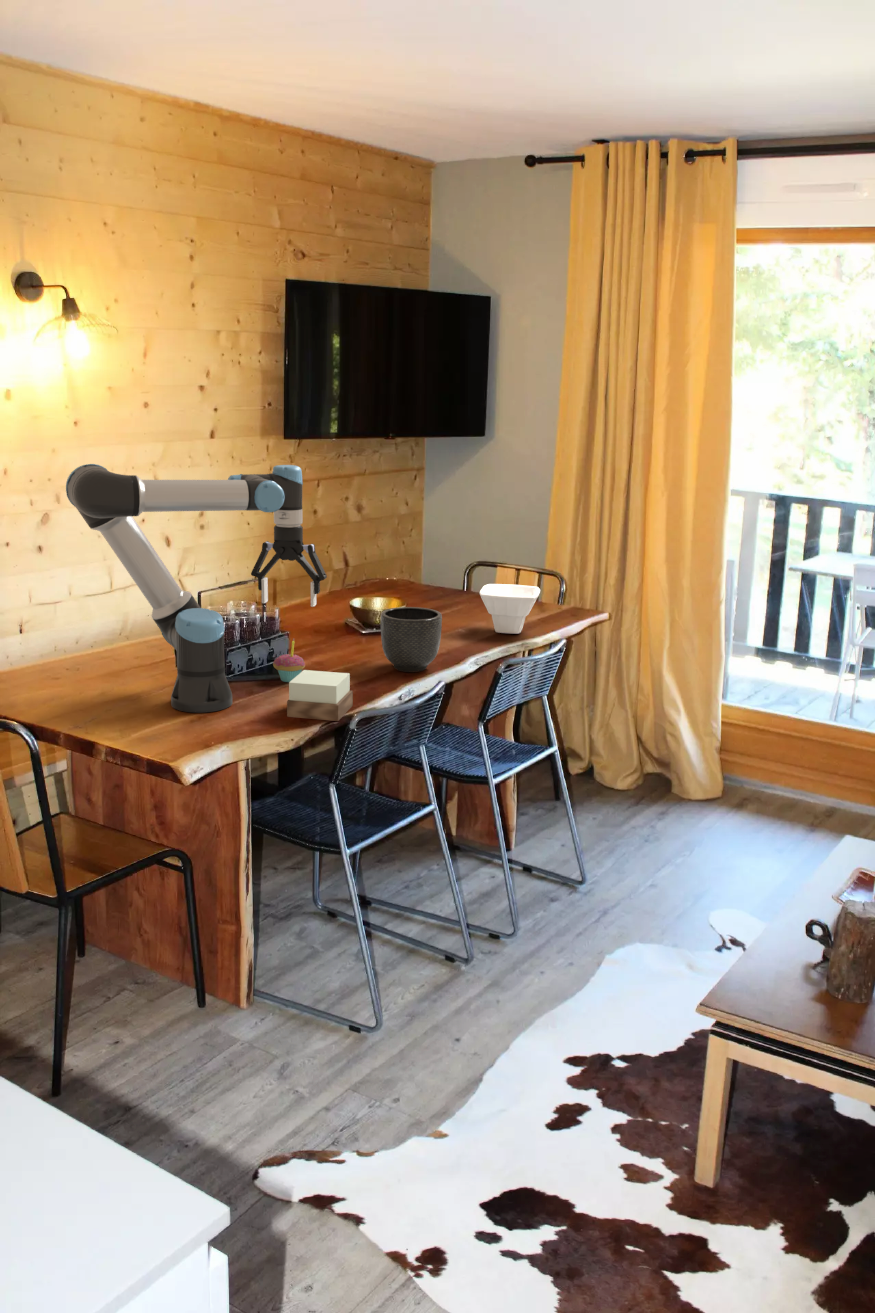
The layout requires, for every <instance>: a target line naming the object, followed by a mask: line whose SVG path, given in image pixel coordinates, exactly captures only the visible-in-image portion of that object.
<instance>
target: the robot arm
mask: <svg viewBox="0 0 875 1313" xmlns="http://www.w3.org/2000/svg"><path fill="white" fill-rule="evenodd" d="M302 471H303V470H302V468H301V467H300V466H298V465H295V464H294V465H293V464H279V465H274V466H273V468H272V473H271V472H270V473H265V474H264V473H263V474H261V473H259V474H258V473H257V474H255V473H253V474H250V473H249V474H248V473H247V474H244V473H243V474H242V473H240V474H233V475H229V476H228V478H227V479H141V477H139V476H138V475H134V474H133V475H132V474H131V475H128V474H120V473H115V472H111V471H109V470H108V469H107V468H106V467H104V466H102V465H100V464H96V463H89V464H88V463H87V464H83V465H79V466H78V467H76V468H74V470H72V471H71V472H70V474H69V475H68V477H67V480H66V483H65V492H66V497H67V499H68V501H69V503H70V504H72V506H73V507H74V508H76V510H77V512H78V513H79V514H80V515H81V517H82V518H83V519H84V521H85V523H86V525H87V526H88V527H89V528H90V529H91V530H93V531H98V532H100V533H101V535H102V536H103V538H104V539H105V540H106V542H107V543H108V544H107V545H109V547H110V548H111V549H112V551H113V552H114V554H115V555H116V557H117V558H118V559H119V561H120V563H121V565H123V567H124V569H125V570H126V572H127V573H128V575H129V576H130V577H131V579H132V581H134V583H135V585H136V586H137V588H138V589H139V590H140V591H141V593H142V595H143V597H144V598H145V599H146V600H147V602H148V603H149V605H150V606H151V608H152V612H151V619H152V620H153V621H154V623H155V624H156V625H157V627H158V629H159V630H160V632H161V635H162V637H163V639H164V640H165V641H166V642H167V643H168V644H169V645H171V646H172V647H173V649H175V650H176V666H177V667H176V669H177V671H176V672H177V673H176V674H177V676H176V680H175V683H174V686H173V688H172V693H171V695H170V700H171V701H170V704H171V707H172V709H175V710H177V711H180V712H184V713H185V712H186V713H197V714H198V713H210V712H211V713H213V712H219V711H222V710H225V709H228V708H229V707H231V706H232V704H233V693H232V690H231V687H230V685H229V682H228V679H227V676H226V673H225V672H226V671H225V670H226V667H225V664H226V663H225V630H226V629H225V624H224V619H223V616H222V615H221V614H220V613H219V612H218V611H216V610H213V609H211V610H210V609H209V608H203V607H201V606H200V604H199V603H198V602H197V601H196V599H195V597H194V596H193V595H192V593H191V592H190V591H186V590H183V589H182V588H181V587H180V585H179V584H178V582H177V581H176V580H175V578H174V577H173V575H172V574H171V572H170V571H169V569H168V567H167V566H166V565H165V563H164V562H163V560H162V558H161V557H160V556H159V554H158V553H157V551H156V549H155V548H154V547H153V545H152V544H151V542H150V541H149V539H148V537H147V536H146V535H145V533H144V531H143V530H142V528H141V527H140V526H139V524H138V522H137V521H136V520H135V518H134V517H139V516H140V515H141V514H142V513H149V512H150V513H152V512H153V513H155V512H156V513H158V512H160V513H161V512H168V513H169V512H215V511H216V512H221V511H223V512H225V511H228V512H229V511H230V512H231V511H249V512H250V511H251V512H253V511H254V512H255V511H256V512H257V511H260V512H264V513H273V524H275V525H274V527H273V542H270V541H268V540H267V541H265V542H264V541H263V542H262V545H261V551H260V553H259V555H258V558H257V560H256V562H255V565H254V566H253V568H252V570H251V572H250V574H251V576H252V577H256V579H257V586H258V588H257V589H258V591H261V604H263V605H264V604H266V603H268V601H269V586H268V583H269V582H268V579H269V578H268V577H266V575H267V574H268V573H269V572H270V570H271V569H272V568H273V567H274V566H275V564H276V563H277V562H278V561H279V560H281V561H290V562H291V561H292V562H293V561H296V562H297V563H298V564H299V565H300V566H301V567H302V569H303V570H304V571H305V572H306V574H307V575H308V576H309V577H310V579H311V580H312V581H310V607H312V608H314V607H316V605H317V595H319V594H320V592H321V581H324V580H326V578H328V576H327V573H326V572H325V569H324V567H323V565H322V563H321V561H320V559H319V556H318V554H317V552H316V546H315V544H314V543H311V544H310V543H309V544H304V542H303V541H304V538H303V536H304V530H303V526H302V524H303V522H304V520H303V519H304V518H303V485H304V483H303V472H302ZM272 549H273V550H274V552H275V554H273V556H272V557H271V559H270V560H269V562H267V564H265V566H264V568H263V569H262V566H263V564H264V563H265V560H266V558H267V556H268V554H269V551H271V550H272ZM304 551H305V552H306V553H307V554H308V556H309V558H310V560H311V563H312V564H313V566H312V565H311V564H310V562H308V560H307V559H306V556H304V554H303V552H304ZM261 569H262V570H261Z"/></svg>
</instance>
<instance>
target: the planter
mask: <svg viewBox="0 0 875 1313" xmlns="http://www.w3.org/2000/svg"><path fill="white" fill-rule="evenodd" d="M442 622H443V616H442V613H441V612H440V611H438V610H436V609H431V608H427V607H419V606H416V607H415V606H402V607H392V608H388V609H385V610H382V612H381V613H380V637H381V647H382V650H383V654H384V656H385V658H386V659H387V660H388V661H389V662H390V664H392V665H393V668H394V669H395V670H396V669H397V670H396V671H400V672H403V673H418V672H423V671H425V670H426V669H427V668H428V666H429V665H430V664H432V662H433V661H434V660H435V658H436V657H437V655H438V653H439V649H440V645H441V639H442V629H443V628H442V627H443V626H442V624H443V623H442Z"/></svg>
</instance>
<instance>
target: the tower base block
mask: <svg viewBox="0 0 875 1313" xmlns="http://www.w3.org/2000/svg"><path fill="white" fill-rule="evenodd" d="M353 692H354V690H352V689H351V690H350V691H349V692H348V693H347V694H346V695H345V696H344V697H343V698H342V699H341V700H340V701H339V702H338V703H337V704H330V703H318V702H306V701H294V700H289V699H287V701H286V716H287V718H301V719H309V720H310V719H312V720H322V721H332V722H333V721H335V722H338V721H340V720H341V719H342V718H343V717H344V716H345V714H346V713H347V712H348V711H349V710H350V709H351V708H352V707H353V705H354V704H353V698H354V697H353V694H354V693H353Z"/></svg>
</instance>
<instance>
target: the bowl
mask: <svg viewBox="0 0 875 1313" xmlns="http://www.w3.org/2000/svg"><path fill="white" fill-rule="evenodd" d="M540 593H541V589H540V588H539V586H533V585H526V584H525V585H522V584H509V583H507V584H505V583H503V584H502V583H488V584H485V585H483V586H482V588H481V589H480V591H479V595H480V598H481V600H482V602H483V604H484V606H485V609H486V610H487V613H488V614H489V615H491V619H492V623H493V624H492V625H493V628H494V631H495V633H499V634H500V633H501V634H512V635H513V634H521V632H522V631H523V627H524V624H525V621H526V617H527V616H529V614H530V612H531V610H532V609H533V607H534V605H535V603H536V601H537V600H538V597H539V596H540Z"/></svg>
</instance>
